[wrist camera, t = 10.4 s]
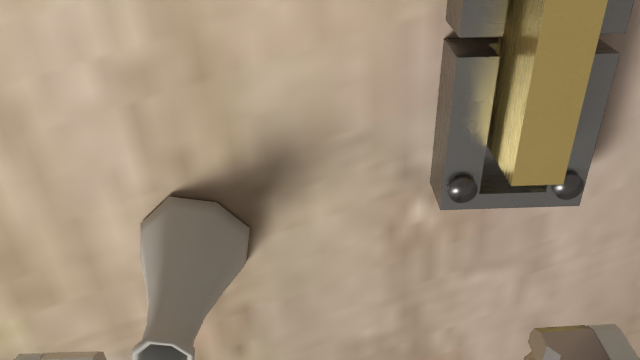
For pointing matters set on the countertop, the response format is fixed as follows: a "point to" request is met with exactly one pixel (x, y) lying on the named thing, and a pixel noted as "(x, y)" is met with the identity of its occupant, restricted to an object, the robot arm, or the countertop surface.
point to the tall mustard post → (542, 86)
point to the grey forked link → (491, 7)
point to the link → (473, 126)
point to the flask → (186, 272)
